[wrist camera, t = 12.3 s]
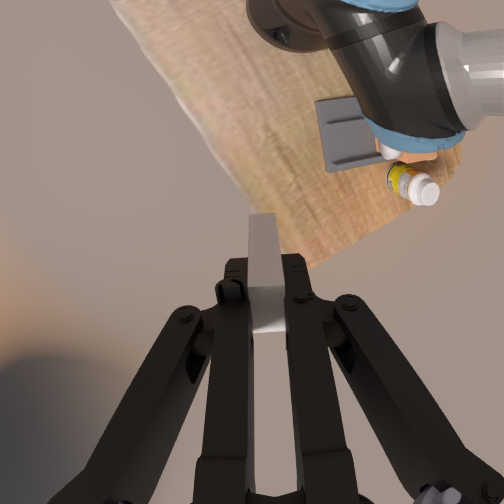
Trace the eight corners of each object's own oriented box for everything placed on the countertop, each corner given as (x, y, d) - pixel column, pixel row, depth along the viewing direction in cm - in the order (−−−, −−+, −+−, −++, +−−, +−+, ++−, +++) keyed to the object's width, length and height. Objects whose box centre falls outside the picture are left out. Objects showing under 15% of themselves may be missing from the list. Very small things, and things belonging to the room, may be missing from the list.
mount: (314, 101, 42) (334, 103, 36) (402, 92, 43) (430, 95, 37) (325, 171, 48) (345, 183, 42) (408, 154, 49) (434, 164, 42)
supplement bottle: (412, 169, 50) (448, 186, 41) (399, 195, 52) (433, 216, 44) (392, 156, 49) (428, 171, 40) (379, 183, 51) (412, 202, 42)
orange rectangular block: (362, 125, 43) (393, 133, 36) (402, 120, 44) (435, 128, 36) (366, 152, 46) (396, 165, 38) (404, 146, 46) (437, 157, 38)
